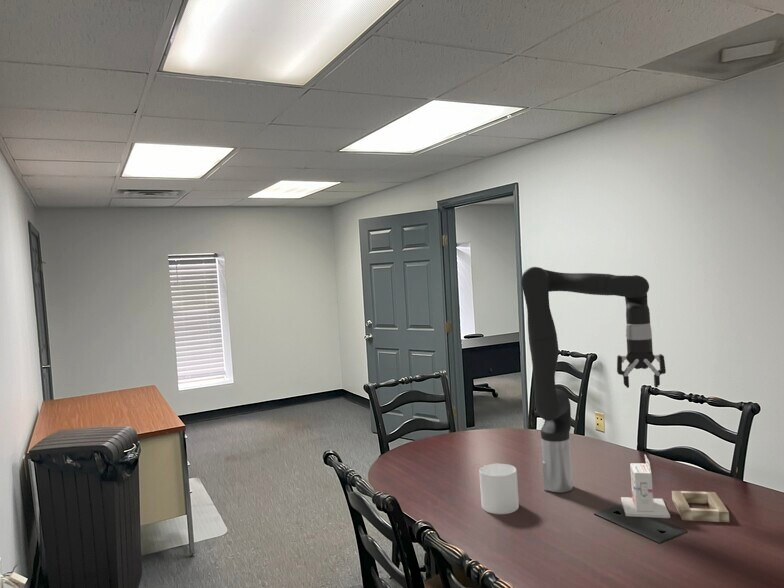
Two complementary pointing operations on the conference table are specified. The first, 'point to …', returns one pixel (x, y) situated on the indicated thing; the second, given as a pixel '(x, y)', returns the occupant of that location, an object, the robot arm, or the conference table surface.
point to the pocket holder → (696, 514)
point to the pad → (658, 512)
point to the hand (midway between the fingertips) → (641, 387)
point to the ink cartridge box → (642, 486)
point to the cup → (499, 488)
